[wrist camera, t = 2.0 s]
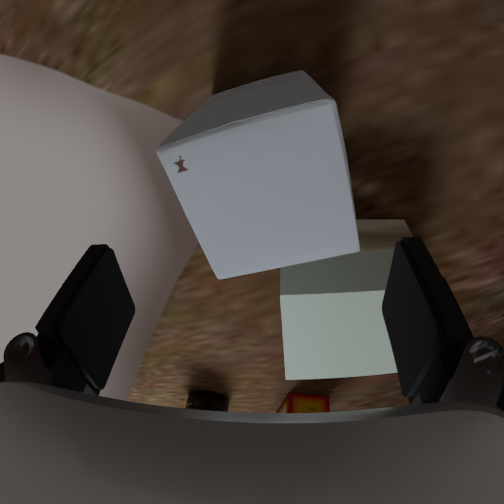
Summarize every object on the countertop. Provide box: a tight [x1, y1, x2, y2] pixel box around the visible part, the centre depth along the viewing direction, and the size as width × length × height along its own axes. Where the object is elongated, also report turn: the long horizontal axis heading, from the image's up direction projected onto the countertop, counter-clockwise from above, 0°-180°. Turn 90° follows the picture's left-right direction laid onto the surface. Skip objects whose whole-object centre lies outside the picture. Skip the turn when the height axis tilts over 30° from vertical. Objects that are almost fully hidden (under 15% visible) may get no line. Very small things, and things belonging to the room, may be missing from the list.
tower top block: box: [280, 250, 397, 380], centre depth 26 cm, size 11×11×4 cm
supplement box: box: [156, 70, 360, 279], centre depth 18 cm, size 7×7×13 cm
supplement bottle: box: [185, 391, 229, 412], centre depth 45 cm, size 7×7×12 cm
